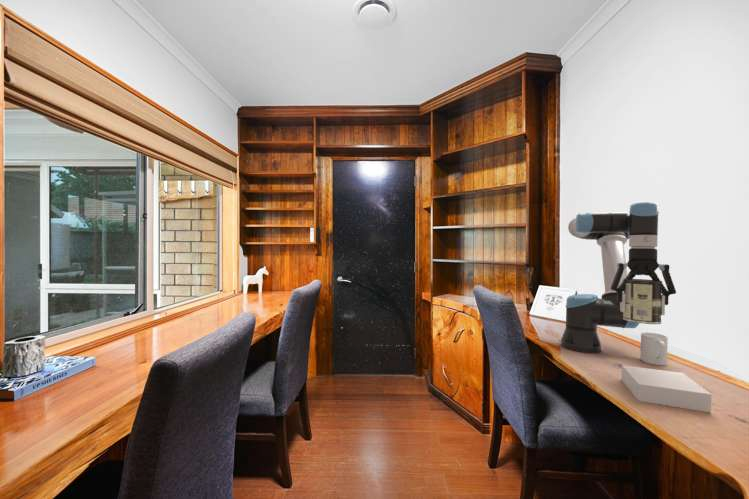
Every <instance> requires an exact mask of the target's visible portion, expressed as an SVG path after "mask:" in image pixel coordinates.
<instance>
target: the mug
mask: <svg viewBox="0 0 749 499" xmlns="http://www.w3.org/2000/svg"><path fill="white" fill-rule="evenodd" d="M668 338H669V337H668V336H667V335H664V334H662V333H661V334H660V333H656V332H648V331H647V332H646V331H645V332H641V333H640V354H639V355H640V360H641V361H642V362H644V363H647V364H649V365H656V366H667V364H668Z"/></svg>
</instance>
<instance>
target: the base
mask: <svg viewBox="0 0 749 499" xmlns="http://www.w3.org/2000/svg"><path fill="white" fill-rule="evenodd" d="M621 381H622V383H623V384H624V385H625V386H626V388H627V389H628V390H629V391H630V392H631V394H632V396H634V397H635V399H636V400H637V402H642V403H647V404H654V405H660V404H661V406H666V405H668V407H674V408H679V407H680V409H684V410H685V409H686V410H692V411H693V410H694V411H699V412H706V413H711V412H712V394H711V393H710V392H709V391H708V390H706V389H705V388H704V387H702V386H701V385H700V384H698V382H695V381H694V380H693V379H692V378H690V377H689V376H688V375H686V374H685V373H684V372H677V371H670V370H662V369H654V368H645V367H638V366H630V365H625V364H624V365H623V364H622V365H621Z"/></svg>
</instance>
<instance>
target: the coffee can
mask: <svg viewBox="0 0 749 499" xmlns="http://www.w3.org/2000/svg"><path fill="white" fill-rule="evenodd" d="M623 281H624V282H626V288H625V290H624V293H625V312H623V319H624V320H626V321H630V322H635V323H639V324H643V325H661V324H662V315H661V295H662V293H661V292H662V291H661V290H662V284H663V281H662V280H660V281H653V280H652V279H647V278H646V279H645V278H644V279H643V278H633V279H632V280H626V279H623Z"/></svg>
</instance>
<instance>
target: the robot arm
mask: <svg viewBox="0 0 749 499" xmlns="http://www.w3.org/2000/svg"><path fill="white" fill-rule="evenodd" d="M629 206H630V207H629V211H621V212H617V211H615V212H583V213H577V215H576V217H574V218H573V219H572V220H570V222H569V223H568V226H567V229H568V232H569V234H570V235H571V236H573V237H576V238H578V239H582V240H591V241H592V240H596V244H597V245H598V246H599V247H600V250H601V261H602V271H603V283H604V285H603V286H604V293H602V294H601V298H599V297H598V295H596V294H594V293H593V294H589V293H582V294H572V295H569V296H568V297H566V304H565V329H564V330H563V332H562V336H561V339H560V345H561V346H562V347H563V348H564V349H565V348H566V349H568V350H571V351H576V352H580V353H581V352H582V353H590V354H591V353H593V354H595V353H600V352H601V351H602V343H601V341H600V338H599V334H598V332H597V331H598V328H597V327H598V326H599V327H601V326H602V327H603V326H604V327H610V328H622V329H636V328H637V327H638V326H639V324H640V323H635V322H630V321H626V320H624V319H623V312H625V293H624V290H625V288H626V282H624V281H623V279H626V280H632V279H635V277H636V276H649V278H651V279H650V280H653V281H661V279H660V278H659V276H658V275H657V273H656V270H657V269H658V268H659V270H660V271H661V274H662V277H663V280H664V282H665V285H664V283H662V290H661V291H662V292H661V316H665V314H666V312H665V311H666V310H665V309H666V308H665V307H666V306H668V305H669V296H670V295H676V294H677V291H676V288H675V285H674V282H673V279H672V276H671V273H670V265H669V264H667V263H666V264H665V263H663V264H659V262H658V249H657V247H658V236H659V234H658V231H659V213H660V212H659V205H658V203H657V202H654V201H653V202H652V201H642V202H635V203H632V204H630V205H629ZM627 242H628V247H629V249H628V261H627V263H626V254H625V246H624V245H625V244H626V243H627ZM627 268H628V269H629V270H630V271H629V272H628V270H627Z"/></svg>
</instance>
